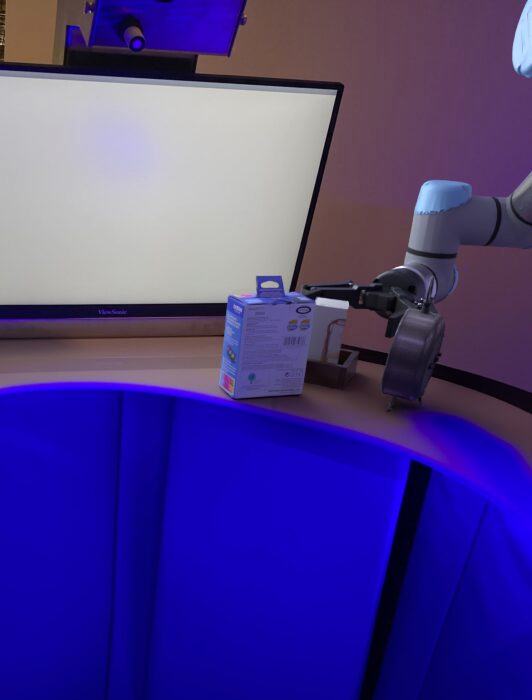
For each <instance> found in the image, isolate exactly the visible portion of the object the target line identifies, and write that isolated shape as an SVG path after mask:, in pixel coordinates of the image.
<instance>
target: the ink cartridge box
mask: <svg viewBox="0 0 532 700" xmlns="http://www.w3.org/2000/svg"><path fill="white" fill-rule="evenodd" d="M267 282H273V283H276V284H277V285H278V287H262V284H264V283H267ZM255 291H256V293H243V294H228V295H227V304H226V313H225V324H224V333H223V335H224V336H223V346H222V355H221V364H220V375H219V384H218V386H219V387H220V388H221V389H222V390H223V391H224V392H225V393H226V394H227V395H228V396H229V397H231V398H232V399H236V400H237V399H247V398H249V399H250V398H262V397H263V398H264V397H278V396H280V397H281V396H292V395H293V396H294V395H302V394H303V390H304V389H303V388H304V384H305V383H304V376H305V370H306V363H307V357H308V350H309V343H310V337H311V331H312V324H313V318H314V312H315V306H316V302H315V301H314V300H312V299H310V298H307V297H305V296H304V295H302V294H301V292H296V291H291V292H290V291H285V286H284V281H283V276H282V275H255Z"/></svg>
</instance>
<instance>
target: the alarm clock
mask: <svg viewBox="0 0 532 700" xmlns="http://www.w3.org/2000/svg"><path fill="white" fill-rule="evenodd" d="M433 285H434V277H433V276H432V277H431V280H430V283H429V287H428V291H427V297H426V299H425V300H424V301H423V304H424V305H423V307H422V309H421V310H418V309H414V308H409V309H407V311H406V312H405V314H404V315H403V317H402V319H401V321H400V323H399V326H398V328H397V331H396V333H395V336H394V337H393V339H392V342H391V345H390V347H389V352H388V354H387V357H386V362H385V366H384V368H383V374H382V378H381V384H380V385H381V392H382V394H383V395H388V396H390V398H389V402H388V406H387V408H386V410H385V411H386V412H387V413H391V412H392V411H393V406H394V405H395V403H396V401H397V398H398V399H403V400H406V401H410V402H414V401H418V403H419V406H420V407H421V408H422V409H423V408H424V404H423V396H424V395H425V393H426V389H427V387H428V385H429V383H430V381H431V378H432V375H433V372H434V371H435V370H434V369H435V367H436V364H437V363H438V362H439V360H440V358H441V357H442V354H443V352H441V348H442V344H443V340H444V337H445V331H446V322H445V318H444V317H443V316H442V315H441V314H439V313H438V314H436V313H431V312H429V307H430V305H431V300H430V299H431V295H432V291H433Z"/></svg>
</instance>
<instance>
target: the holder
mask: <svg viewBox="0 0 532 700" xmlns="http://www.w3.org/2000/svg"><path fill="white" fill-rule="evenodd" d="M359 355H360V351H359V350H354V349H353V350H352V349H347V348H342V347H341V348H340V353H339V359H338V364H333V363H328V362H323V361H318V360H312V359H307V363H306V370H305V376H304V382H305V383H309V384H314V385H319V386H324V387H328V388H333V389H339V390H344V389H345V388H346V386H347V384H348V383H349V382H350V380H351V379H352V378H353V376H354V375H355V374H356V371H357V366H358V361H359Z"/></svg>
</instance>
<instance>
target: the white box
mask: <svg viewBox="0 0 532 700" xmlns="http://www.w3.org/2000/svg"><path fill="white" fill-rule="evenodd" d="M315 302H316V306H315V312H314V318H313V324H312V331H311V337H310V343H309V350H308V357H307V359H312V360H318V361H323V362H328V363H333V364H338V359H339V353H340V348H342V343H343V338H344V333H345V328H346V323H347V318H348V311H349V308H350V306H349V303H348V301H342V300H334V299H327V298H320V297H317V298H316V300H315Z"/></svg>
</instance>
